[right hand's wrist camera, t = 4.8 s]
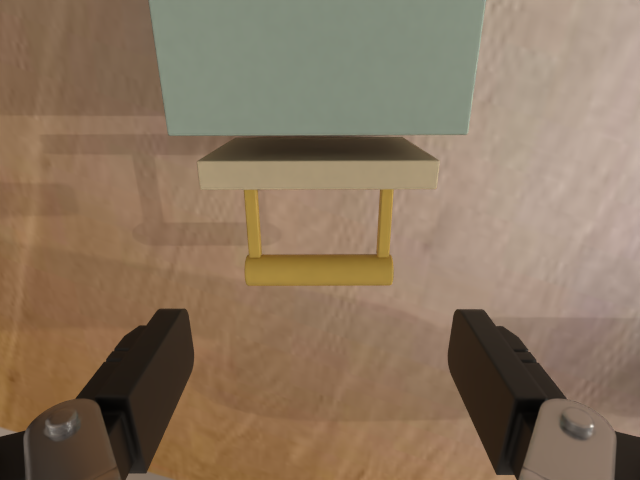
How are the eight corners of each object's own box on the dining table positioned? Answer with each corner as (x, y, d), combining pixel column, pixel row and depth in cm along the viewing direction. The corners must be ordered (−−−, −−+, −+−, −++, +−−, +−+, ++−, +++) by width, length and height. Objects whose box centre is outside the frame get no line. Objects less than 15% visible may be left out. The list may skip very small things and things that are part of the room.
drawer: (394, 252, 25) (422, 316, 18) (244, 252, 25) (215, 316, 18) (429, -222, 17) (508, -443, 10) (204, -221, 17) (122, -440, 10)
